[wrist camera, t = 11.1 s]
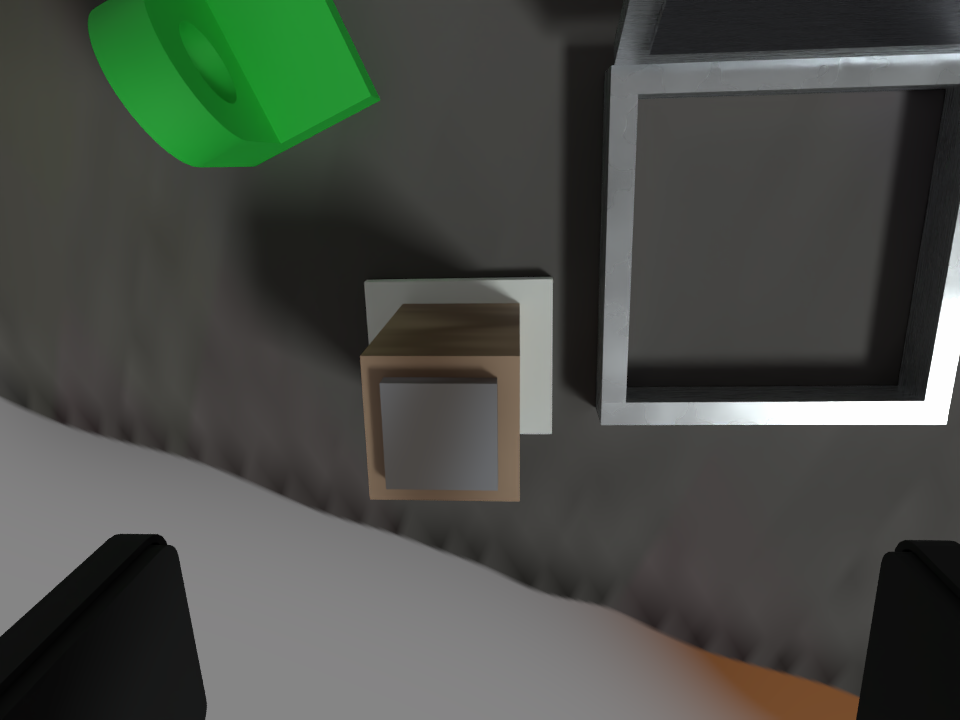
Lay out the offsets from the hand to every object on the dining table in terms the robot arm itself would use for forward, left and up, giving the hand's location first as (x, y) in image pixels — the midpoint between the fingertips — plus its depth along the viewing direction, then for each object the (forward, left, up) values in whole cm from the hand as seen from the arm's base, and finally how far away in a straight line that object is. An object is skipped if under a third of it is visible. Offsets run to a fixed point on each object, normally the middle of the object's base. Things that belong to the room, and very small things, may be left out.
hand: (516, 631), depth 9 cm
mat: (+3, +2, -21) cm, 21 cm away
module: (+2, +2, -20) cm, 20 cm away
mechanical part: (+11, -13, -21) cm, 27 cm away
